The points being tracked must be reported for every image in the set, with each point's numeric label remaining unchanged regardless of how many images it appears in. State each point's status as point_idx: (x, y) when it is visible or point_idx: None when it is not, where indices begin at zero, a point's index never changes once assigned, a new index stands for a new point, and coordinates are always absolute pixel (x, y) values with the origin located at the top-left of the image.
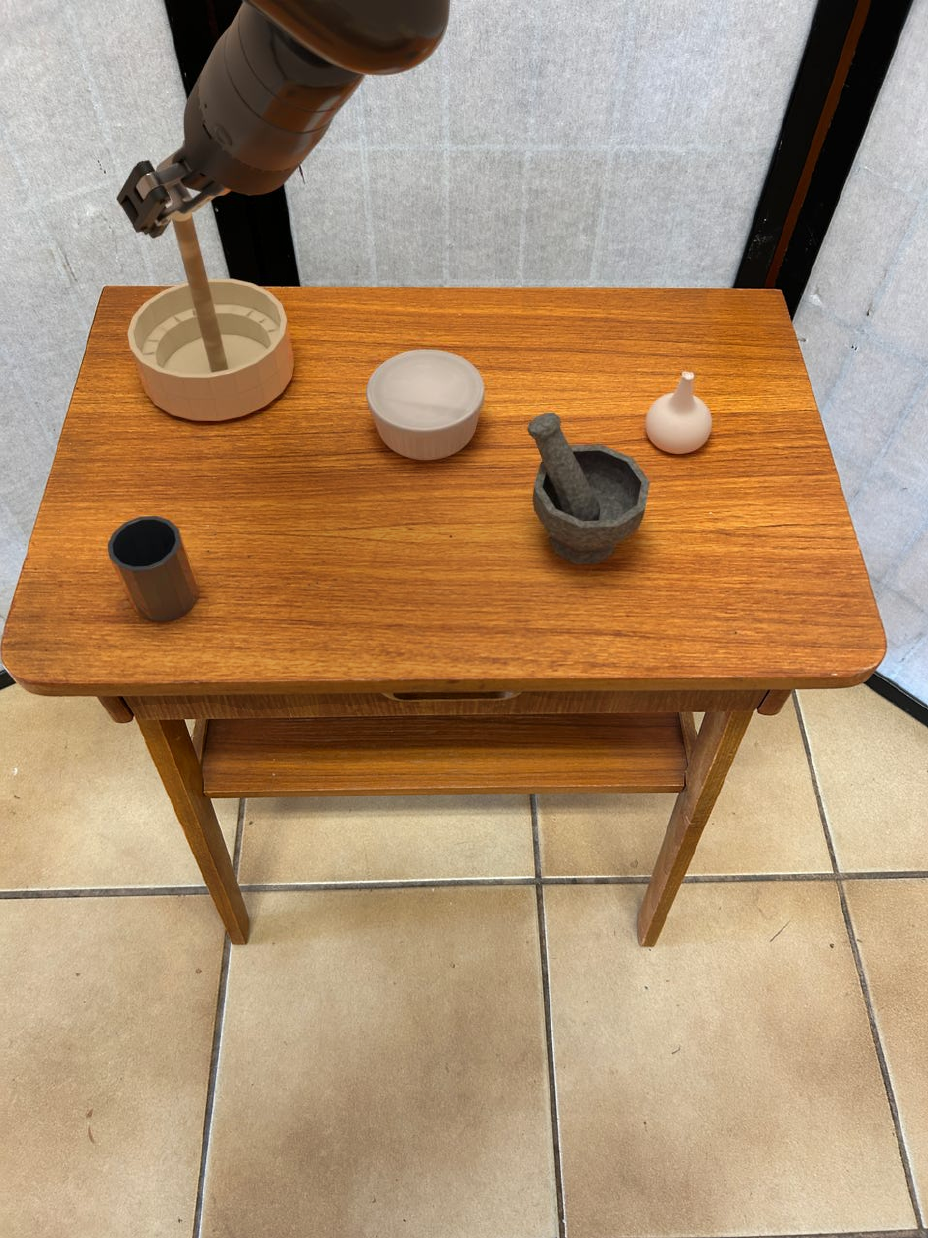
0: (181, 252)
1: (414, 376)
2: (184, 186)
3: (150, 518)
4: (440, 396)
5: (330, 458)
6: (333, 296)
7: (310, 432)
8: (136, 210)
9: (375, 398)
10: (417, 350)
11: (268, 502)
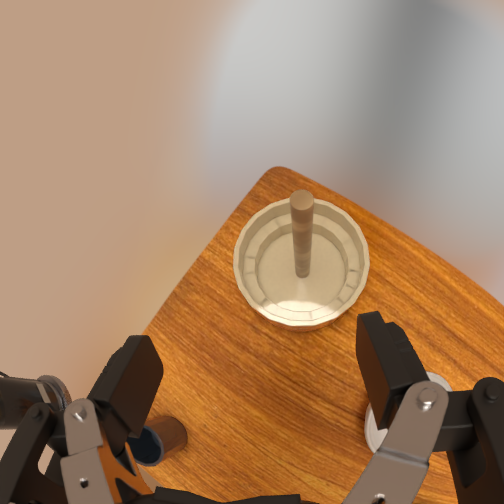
0: (291, 222)
1: None
2: (132, 490)
3: (153, 433)
4: None
5: (324, 404)
6: (412, 238)
7: (327, 371)
8: (52, 448)
9: None
10: (434, 375)
11: (261, 416)
